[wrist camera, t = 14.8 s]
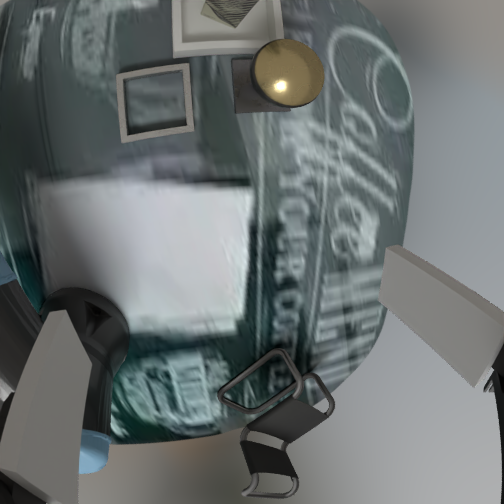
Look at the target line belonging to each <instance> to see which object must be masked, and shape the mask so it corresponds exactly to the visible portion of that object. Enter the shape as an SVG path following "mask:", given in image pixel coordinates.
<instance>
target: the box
mask: <svg viewBox="0 0 504 504" xmlns="http://www.w3.org/2000/svg"><path fill="white" fill-rule="evenodd" d="M258 1H259V0H206V1H205V3H204V6H203V8H202V11H201V13H200V14H201V15H203V16H205V17H207V18H210V19H212V20H214V21H217V22H219V23H222V24H224V25H227V26H229V27H232V28H234V29H235V28H236V27H237V26H238V25H239V24H240V22H241V21H242V20H243V19H244V17H245V16H246V15H247V14H248V13H249V11H250V10H251V9H252V8H253V7H254V6H255V4H256V3H257V2H258Z"/></svg>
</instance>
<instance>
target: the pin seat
mask: <svg viewBox="0 0 504 504" xmlns="http://www.w3.org/2000/svg"><path fill="white" fill-rule="evenodd" d="M179 72H182V76H183V91H184V104H185V116H186V126H182V127H175V128H168V129H162V130H156V131H150V132H144V133H139V134H134V135H129V131H128V121H127V110H126V97H125V81H129V80H134V79H139V78H145V77H151V76H157V75H164V74H171V73H179ZM116 81H117V99H118V112H119V123H120V133H121V142H122V143H127V142H132V141H137V140H142V139H148V138H153V137H159V136H165V135H172V134H178V133H186V132H193V131H194V123H193V111H192V99H191V85H190V70H189V63H184V64H175V65H167V66H160V67H154V68H147V69H142V70H136V71H131V72H126V73H121V74H117V75H116Z"/></svg>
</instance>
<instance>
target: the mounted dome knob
mask: <svg viewBox="0 0 504 504" xmlns="http://www.w3.org/2000/svg"><path fill="white" fill-rule="evenodd" d="M231 68H232V81H233V94H234V107H235V113H252V112H288V111H291V109H290V108H296V107H302V106H304V105H307V104H309V103H310V102H312V101H313V100H314V99H315V98H316V97H317V96H318V95H319V93H320V91H321V89H322V87H323V84H324V69H323V65H322V63H321V61H320V59H319V57H318V56H317V55H316V53H315V52H314V51H313V50H312V49H311V48H309V47H308V46H307V45H305V44H303V43H301V42H299V41H295V40H290V39H277V40H273V41H271V42H268V43H267V44H265V45H264V46H262V47H261V48H260V49H259V50H258V51H257V52H256V53H255V55H254V56H253V58H252V60H232V61H231Z"/></svg>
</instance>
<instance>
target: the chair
mask: <svg viewBox="0 0 504 504" xmlns="http://www.w3.org/2000/svg"><path fill="white" fill-rule="evenodd" d="M277 354H280V355H282V356H283V358H284V360H285V362H286V364H287V365H288V367H289V369H290V371H291V373H292V374H293V376H294V378H295V380H296V381H295V382H294V383H293V384H291V385H290V386H289V387H287V388H286V389H284V390H283V391H282V392H280V393H279V394H278V395H276V396H275V397H273V398H272V399H271V400H269V401H268V402H266V403H265V404H263V405H262V406H261V407H259V408H256V409H253V410H248V409H245V408H243V407H241V406H239V405H237V404H234V403H232V402H230V401H228V400H226V399H225V398H224V397H223V395H224V393H225V392H227V391H228V390H229V389H231V388H232V387H233V386H235V385H236V384H238V383H239V382H240V381H242V380H243V379H244V378H246V377H247V376H248V375H250V374H251V373H252V372H254V371H255V370H256V369H258V368H259V367H260V366H261V365H263V364H264V363H265V362H267V361H268V360H269V359H270V358H272V357H273V356H275V355H277ZM308 378H313V379H315V381H316V382H317V384H318V386H319V387H320V389H321V390H322V392H323V394H324V395H325V397H326V398H327V400H328V402H329V408H328V410H327V412H325V413H322V412H320V411H319V410H317V409H315V408H314V407H312V406H310V405H308V404H306V403H303V402H301V401H299V400H296V399H297V398H298V397H299V396H300V395H301V393H302V391H303V388H304V381H305V380H306V379H308ZM295 387H297V388H296V390H295V392H294V393H293V394H291V395H290V396H289V397H287V398H286V399H284V400H283V401H282V402H280V403H279V404H277V405H276V406H274V407H273V408H271V409H270V410H269V411H267V412H266V413H264V414H263V415H261V416H260V417H258V418H257V419H255V420H254V421H252V422H250V423H249V424H247V426H246V427H245V428H244V429H243V431H242V433H241V435H240V445H241V448H242V451H243V454H244V457H245V460H246V463H247V466H248V468H249V471H250V474H251V477H252V481H251V484H250V485H249V486H248V487H247V488H246V489H244V490H243V491H242V495H243V496H245V497H256V498H277V499H284V498H288V497H290V496H292V495H294V494H295V493H296V492H297V490H298V488H299V480H298V479H299V478H298V476H297V474H296V472H295V470H294V468H293V466H292V464H291V462H290V459H289V457H288V455H287V453H286V448H287V446H288V444H289V443H292V442H293V441H295V440H296V439H298V438H299V437H301V436H302V435H304V434H305V433H307V432H308V431H310V430H311V429H313V428H314V427H316V426H317V425H319V424H320V423H321V422H323V421H324V420H326V419H327V418H328V417H329V416H330V415H331V414H332V413H333V410H334V409H335V401H334V399H333V397H332V396H331V394H330V392H329V391H328V389H327V388H326V386H325V385H324V383H323V382H322V380H321V379H320V377H319V376H318V375H317V374H315V373H307V374H305V375H303V376H301V375H300V373H299V371H298V370H297V368H296V366H295V364H294V363H293V361H292V359H291V358H290V356H289V354H288V353H287V351H286V350H284V349H281V348H277V349H274V350H271V351H270V352H268V353H267V354H266V355H265V356H263V357H262V358H261V359H260V360H258V361H257V362H256V363H255V364H253V365H252V366H251V367H249V368H248V369H247V370H245V371H244V372H243V373H241V374H240V375H239V376H237V377H236V378H235V379H233V380H232V381H231V382H229V383H228V384H227V385H225V386H224V387H223V388H221V389H220V391H219V392H218V395H217V396H218V400H219V401H220V402H221V403H223V404H225V405H227V406H229V407H231V408H233V409H236V410H238V411H240V412H242V413H245V414H256V413H259V412H261V411H263V410H265V409H266V408H267V407H269V406H270V405H272V404H273V403H275V402H276V401H278V400H279V399H280V398H282V397H283V396H285V395H286V394H287V393H289V392H290V391H291V390H293V389H294V388H295ZM250 431H257V432H262V433H265V434H269V435H271V436H274V437H277V438H279V439H281V440H284V442H283V444H282V446H281V449H280V450H279V449H276V448H273V447H270V446H266V445H263V444H260V443H256V442H252V441H247V435H248V433H249V432H250ZM258 473H274V474H281V475H286V476H290V477H291V479H292V481H293V487H292V489H291V490H290V491H289V492H287V493H283V494H280V493H264V492H253V491H254V490H255V489H256V487H257V486H258V482H259V475H258Z"/></svg>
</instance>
